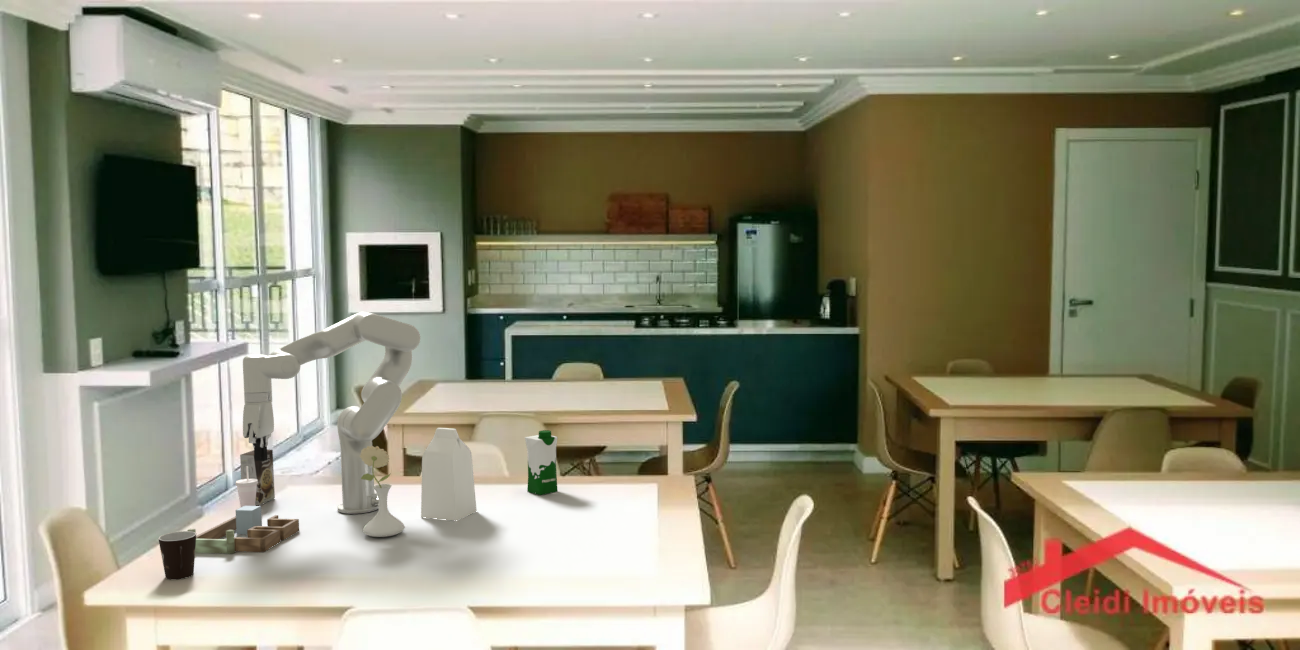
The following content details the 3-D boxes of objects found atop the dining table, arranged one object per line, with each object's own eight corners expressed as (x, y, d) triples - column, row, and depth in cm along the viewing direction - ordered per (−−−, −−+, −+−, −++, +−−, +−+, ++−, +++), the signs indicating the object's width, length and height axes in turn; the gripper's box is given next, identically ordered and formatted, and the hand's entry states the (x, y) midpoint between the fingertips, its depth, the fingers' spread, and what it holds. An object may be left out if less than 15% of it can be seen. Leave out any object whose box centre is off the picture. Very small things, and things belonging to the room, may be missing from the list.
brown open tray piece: (304, 527, 307) (304, 507, 307) (259, 554, 282) (258, 532, 281) (238, 526, 310) (237, 505, 310) (187, 552, 285) (185, 530, 284)
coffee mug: (168, 570, 269) (165, 531, 269) (203, 569, 270) (201, 530, 269) (150, 585, 258) (148, 545, 257) (187, 584, 259) (185, 543, 258)
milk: (421, 517, 316) (417, 430, 314) (442, 508, 327) (439, 424, 324) (455, 521, 312) (452, 433, 309) (476, 511, 322) (473, 426, 320)
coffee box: (260, 506, 333) (257, 454, 332) (241, 505, 335) (238, 454, 333) (275, 498, 342) (273, 449, 341) (257, 498, 344) (255, 448, 342)
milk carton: (539, 496, 339) (538, 434, 338) (523, 491, 346) (521, 430, 344) (561, 491, 345) (560, 430, 343) (544, 487, 352) (543, 426, 350)
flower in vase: (413, 531, 302) (410, 443, 299) (387, 542, 291) (383, 451, 289) (376, 526, 307) (373, 440, 305) (349, 537, 297) (345, 448, 295)
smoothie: (263, 510, 328) (261, 465, 327) (249, 515, 322) (247, 469, 321) (246, 508, 330) (244, 463, 329) (232, 513, 324) (229, 468, 323)
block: (262, 530, 306) (261, 506, 305) (253, 534, 301) (252, 510, 300) (245, 529, 307) (244, 505, 306) (236, 534, 302) (235, 510, 301)
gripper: (259, 393, 317) (261, 454, 318) (232, 401, 302) (235, 465, 304) (282, 393, 316) (285, 455, 317) (257, 401, 301) (260, 466, 303)
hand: (261, 460), depth 311 cm, fingers closed
